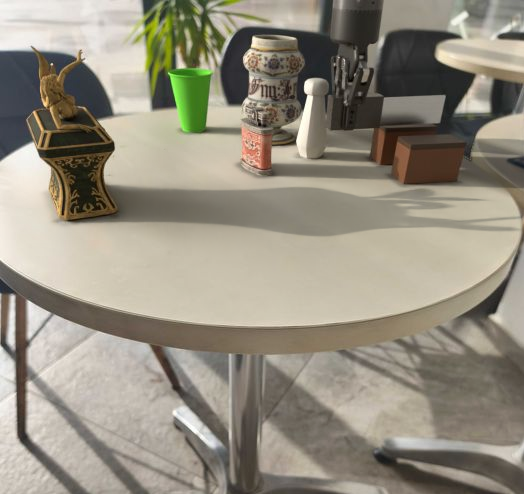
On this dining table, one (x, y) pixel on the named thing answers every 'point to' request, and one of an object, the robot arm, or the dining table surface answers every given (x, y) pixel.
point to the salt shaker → (313, 120)
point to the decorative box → (71, 148)
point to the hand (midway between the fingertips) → (344, 126)
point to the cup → (191, 97)
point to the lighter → (256, 141)
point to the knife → (387, 111)
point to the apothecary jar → (274, 81)
